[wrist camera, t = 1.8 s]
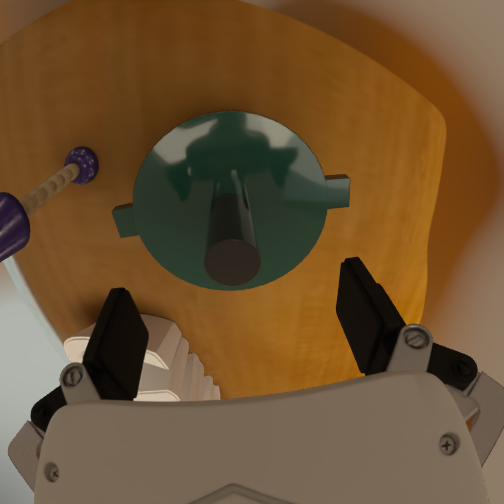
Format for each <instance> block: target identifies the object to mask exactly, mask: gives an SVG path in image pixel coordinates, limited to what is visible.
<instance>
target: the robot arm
mask: <svg viewBox="0 0 504 504" xmlns="http://www.w3.org/2000/svg"><path fill="white" fill-rule="evenodd" d="M336 313H337V316H338V318H339V321H340V323H341V326H342V328H343V330H344V333H345V335H346V338H347V340H348V343H349V345H350V347H351V350H352V352H353V355H354V357H355V360H356V362H357V365H358V368H359V370H360V372H361V373H365V376H363V377H359V378H355V379H351V380H346V381H342V382H337V383H333V384H328V385H323V386H318V387H313V388H307V389H302V390H296V391H290V392H284V393H277V394H270V395H262V396H254V397H244V398H234V399H221V400H205V401H134V398H136V397H137V394H138V389H139V383H140V378H141V373H142V368H143V363H144V358H145V354H146V349H147V345H148V340H149V332H148V330H147V328H146V326H145V324H144V322H143V320H142V318H141V316H140V314H139V312H138V310H137V307H136V305H135V303H134V301H133V299H132V297H131V295H130V293H129V291H128V290H125V288H123V287H122V288H113V289H111V290H110V292H109V295H108V297H107V299H106V301H105V303H104V306H103V308H102V310H101V313H100V315H99V317H98V320H97V322H96V324H95V327H94V329H93V332H92V334H91V337H90V339H89V342H88V344H87V347H86V349H85V352H84V355H83V358H82V359H83V361H82V364H81V363H79V362H74V363H71V364H69V365H67V366H66V367H65V368H64V369H63V370H62V372H61V374H60V379H59V380H60V386H59V387H57V388H56V389H54V390H53V391H52V392H50V393H49V394H47V395H46V396H45V397H43V398H42V399H41V400H39V401H38V402H37V403H36V404H35V405H34V406H33V408H32V410H31V421H27V422H26V423H25V424H24V426H23V427H22V428H21V430H20V431H19V432H18V433H17V435H16V436H15V437H14V439H13V440H12V441H11V443H10V445H9V448H8V455H9V457H10V459H11V461H12V463H13V464H14V466H15V467H16V469H17V470H18V472H19V473H20V474H21V476H22V477H23V478H24V480H25V481H26V483H27V484H28V485H29V487H30V488H31V489H32V490H33V492H34V493H35V494H34V504H489V498H488V493H487V489H486V484H485V480H484V476H483V472H482V466H483V464H484V463H485V461H486V460H487V458H488V456H489V455H490V453H491V451H492V449H493V447H494V446H495V444H496V442H497V440H498V438H499V436H500V434H501V432H502V430H503V428H504V387H503V386H502V385H500V384H499V383H498V382H496V381H495V380H494V379H492V378H491V377H490V376H488V375H487V374H486V373H484V372H483V371H482V372H481V373H479V372H478V369H477V365H476V363H475V361H474V360H473V359H472V358H471V357H470V356H468V355H466V354H463V353H460V352H458V351H455V350H452V349H449V348H447V347H444V346H441V345H439V344H436V343H433V337H432V334H431V333H430V331H429V330H428V329H427V328H426V327H424V326H422V325H420V324H408V325H406V324H405V322H404V320H403V319H402V317H401V316H400V314H399V312H398V311H397V309H396V307H395V306H394V304H393V303H392V301H391V300H390V298H389V297H388V295H387V293H386V292H385V290H384V289H383V287H382V286H381V285H380V284H379V283H376V282H375V280H374V279H373V277H372V276H371V274H370V273H369V271H368V270H367V268H366V267H365V265H364V264H363V262H362V261H361V260H360V258H359V257H352V258H346V259H345V261H344V262H342V263H341V268H340V278H339V287H338V296H337V304H336Z"/></svg>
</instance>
